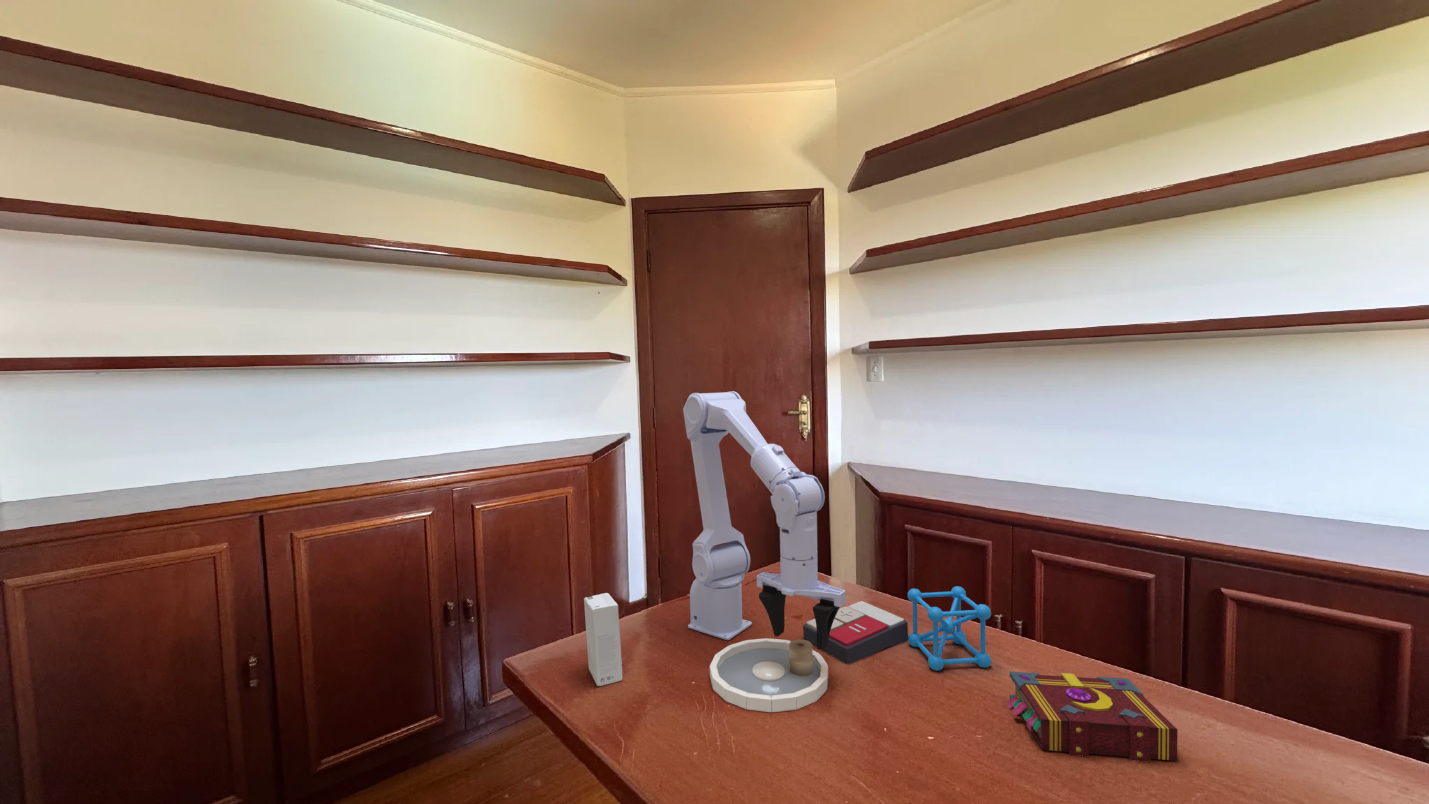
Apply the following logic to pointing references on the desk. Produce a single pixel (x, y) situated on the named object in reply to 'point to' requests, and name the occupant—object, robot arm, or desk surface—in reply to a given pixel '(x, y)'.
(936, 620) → the molecular structure
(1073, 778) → the desk surface
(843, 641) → the calculator
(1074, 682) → the decorative book
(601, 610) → the skincare box
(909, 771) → the desk surface
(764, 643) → the ring tray
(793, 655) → the wooden bead
